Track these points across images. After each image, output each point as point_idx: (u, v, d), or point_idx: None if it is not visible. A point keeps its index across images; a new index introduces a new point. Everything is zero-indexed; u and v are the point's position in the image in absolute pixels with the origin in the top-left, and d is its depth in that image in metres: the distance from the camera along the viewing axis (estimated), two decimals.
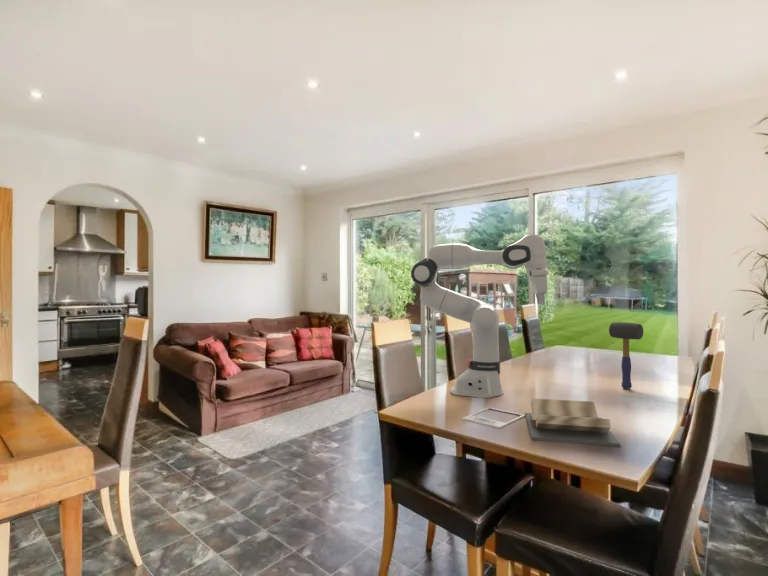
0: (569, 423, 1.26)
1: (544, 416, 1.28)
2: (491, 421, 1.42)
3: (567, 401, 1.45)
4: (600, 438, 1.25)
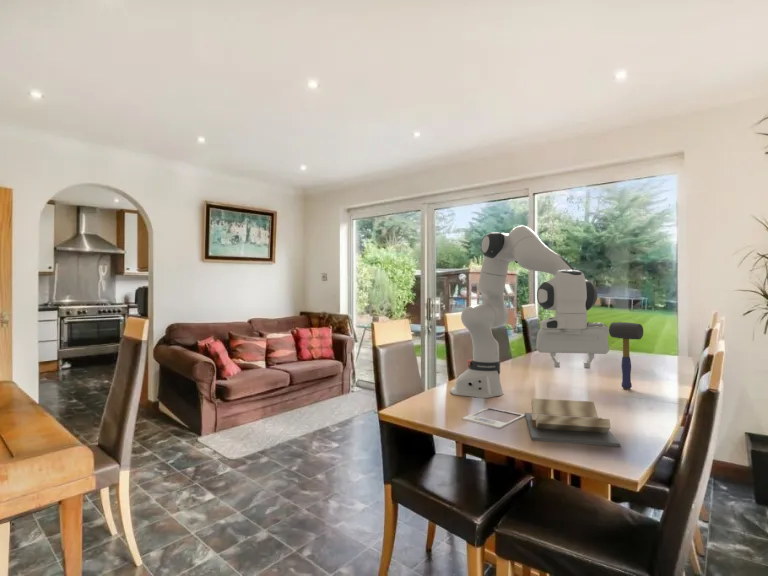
0: (569, 423, 1.26)
1: (544, 416, 1.28)
2: (491, 421, 1.42)
3: (567, 401, 1.45)
4: (600, 438, 1.25)
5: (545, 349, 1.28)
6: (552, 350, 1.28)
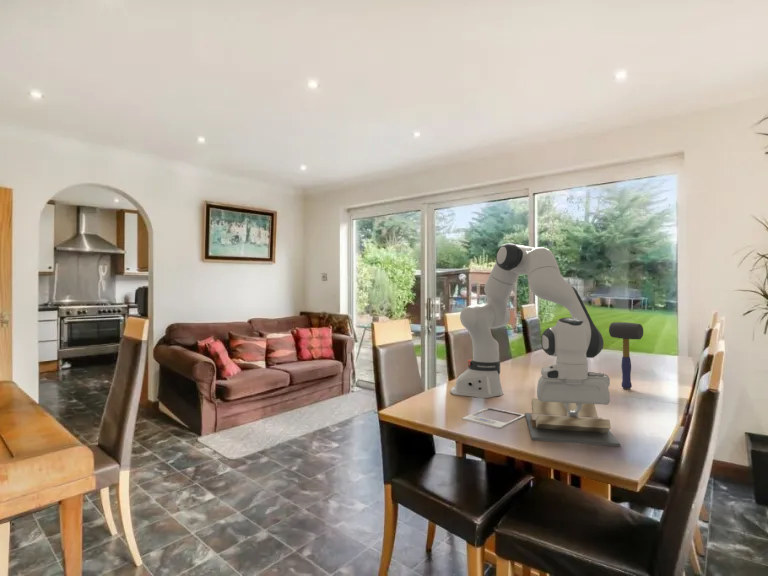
0: (569, 424, 1.26)
1: (544, 417, 1.28)
2: (491, 421, 1.42)
3: None
4: (600, 438, 1.25)
5: (546, 399, 1.28)
6: (553, 399, 1.27)
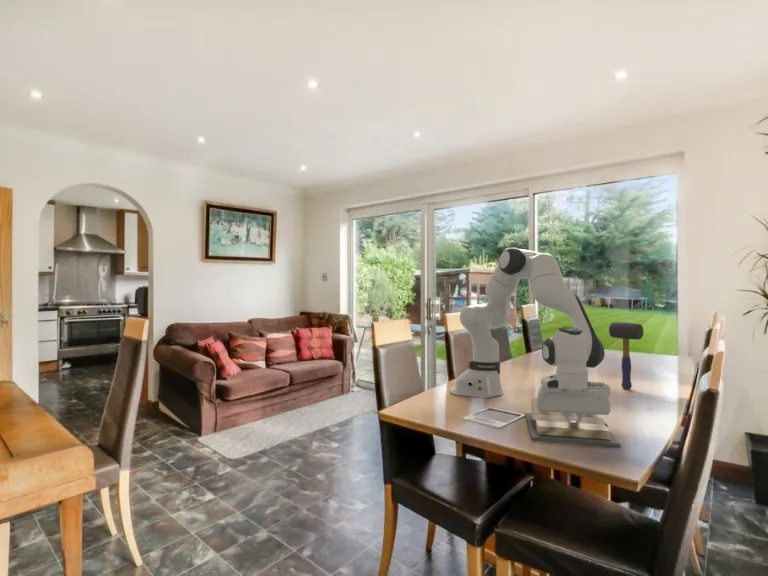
0: (569, 435, 1.26)
1: (544, 427, 1.27)
2: (491, 421, 1.42)
3: None
4: None
5: (546, 409, 1.27)
6: (553, 409, 1.27)
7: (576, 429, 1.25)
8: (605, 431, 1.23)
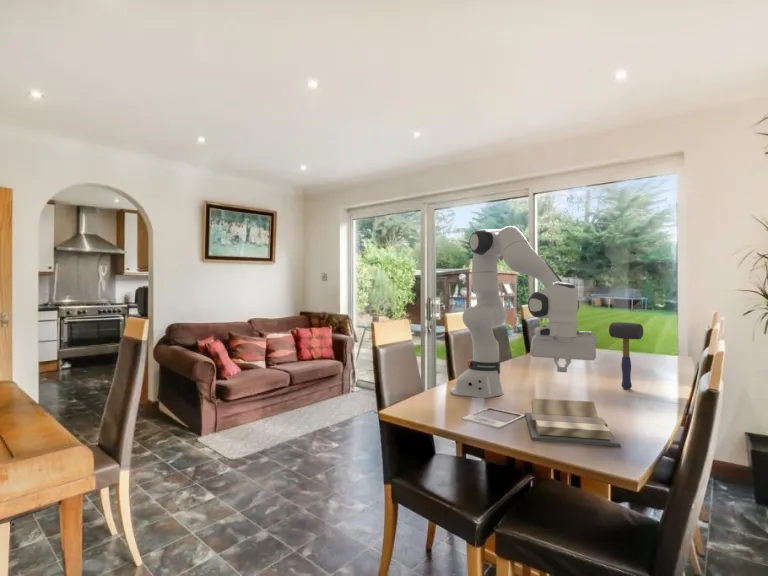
0: (569, 435, 1.26)
1: (544, 427, 1.27)
2: (491, 421, 1.42)
3: (567, 401, 1.45)
4: None
5: (538, 354, 1.41)
6: (544, 355, 1.40)
7: (576, 429, 1.25)
8: (605, 431, 1.23)
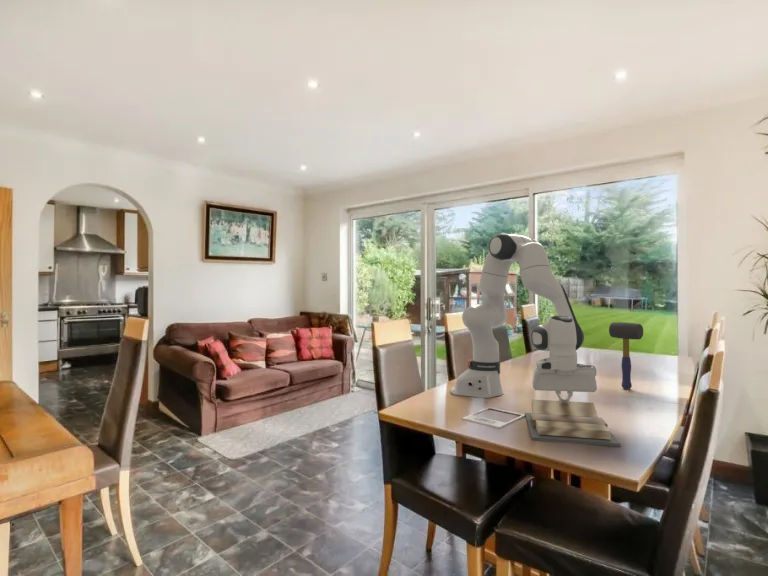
0: (569, 435, 1.26)
1: (544, 427, 1.27)
2: (491, 421, 1.42)
3: None
4: None
5: (541, 387, 1.44)
6: (546, 388, 1.44)
7: (576, 429, 1.25)
8: (605, 431, 1.23)
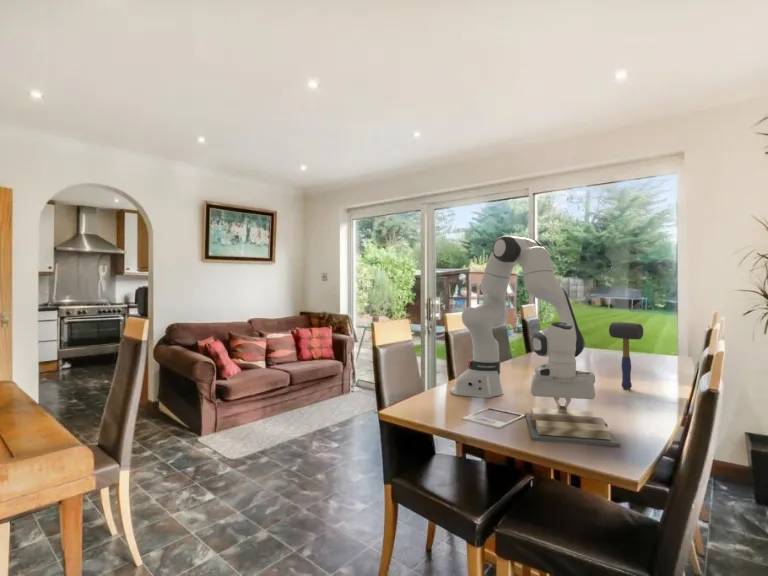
0: (569, 435, 1.26)
1: (544, 427, 1.27)
2: (491, 421, 1.42)
3: (567, 410, 1.45)
4: None
5: (539, 394, 1.44)
6: (545, 394, 1.44)
7: (576, 429, 1.25)
8: (605, 431, 1.23)
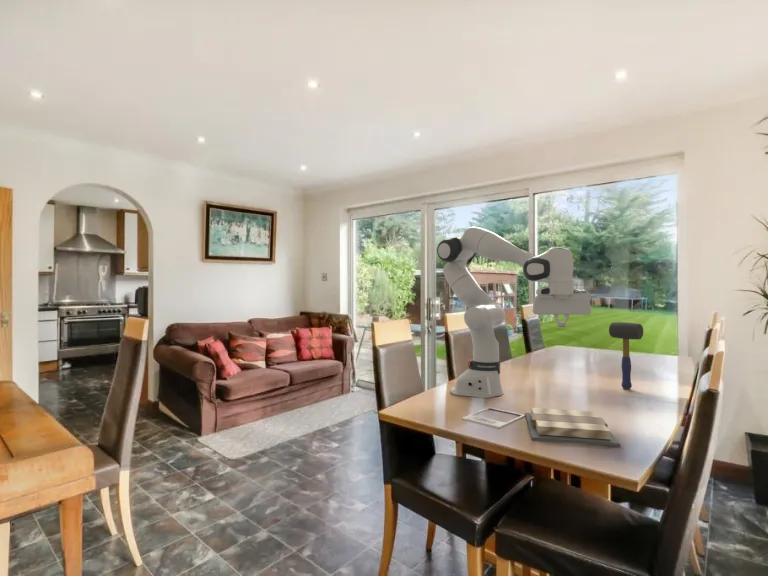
0: (569, 435, 1.26)
1: (544, 427, 1.27)
2: (491, 421, 1.42)
3: (567, 410, 1.45)
4: None
5: (540, 312, 1.58)
6: (545, 312, 1.58)
7: (576, 429, 1.25)
8: (605, 431, 1.23)
